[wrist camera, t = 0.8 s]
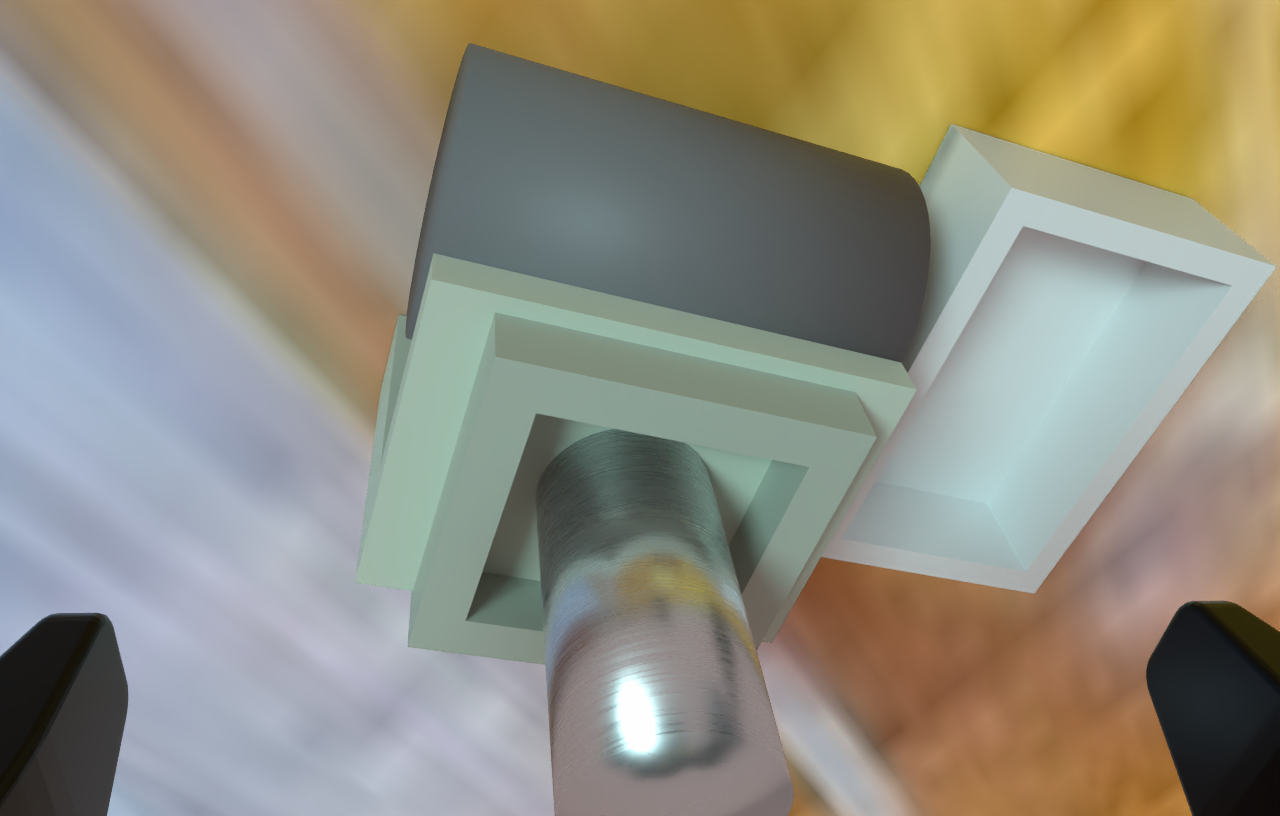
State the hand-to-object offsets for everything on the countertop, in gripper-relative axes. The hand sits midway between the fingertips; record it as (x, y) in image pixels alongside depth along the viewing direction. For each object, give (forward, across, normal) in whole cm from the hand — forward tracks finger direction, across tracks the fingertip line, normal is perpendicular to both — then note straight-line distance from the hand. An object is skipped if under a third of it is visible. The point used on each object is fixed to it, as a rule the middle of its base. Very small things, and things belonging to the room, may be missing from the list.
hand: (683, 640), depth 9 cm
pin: (+8, -1, +5) cm, 9 cm away
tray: (+14, -10, +5) cm, 17 cm away
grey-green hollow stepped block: (+14, -1, +3) cm, 14 cm away
